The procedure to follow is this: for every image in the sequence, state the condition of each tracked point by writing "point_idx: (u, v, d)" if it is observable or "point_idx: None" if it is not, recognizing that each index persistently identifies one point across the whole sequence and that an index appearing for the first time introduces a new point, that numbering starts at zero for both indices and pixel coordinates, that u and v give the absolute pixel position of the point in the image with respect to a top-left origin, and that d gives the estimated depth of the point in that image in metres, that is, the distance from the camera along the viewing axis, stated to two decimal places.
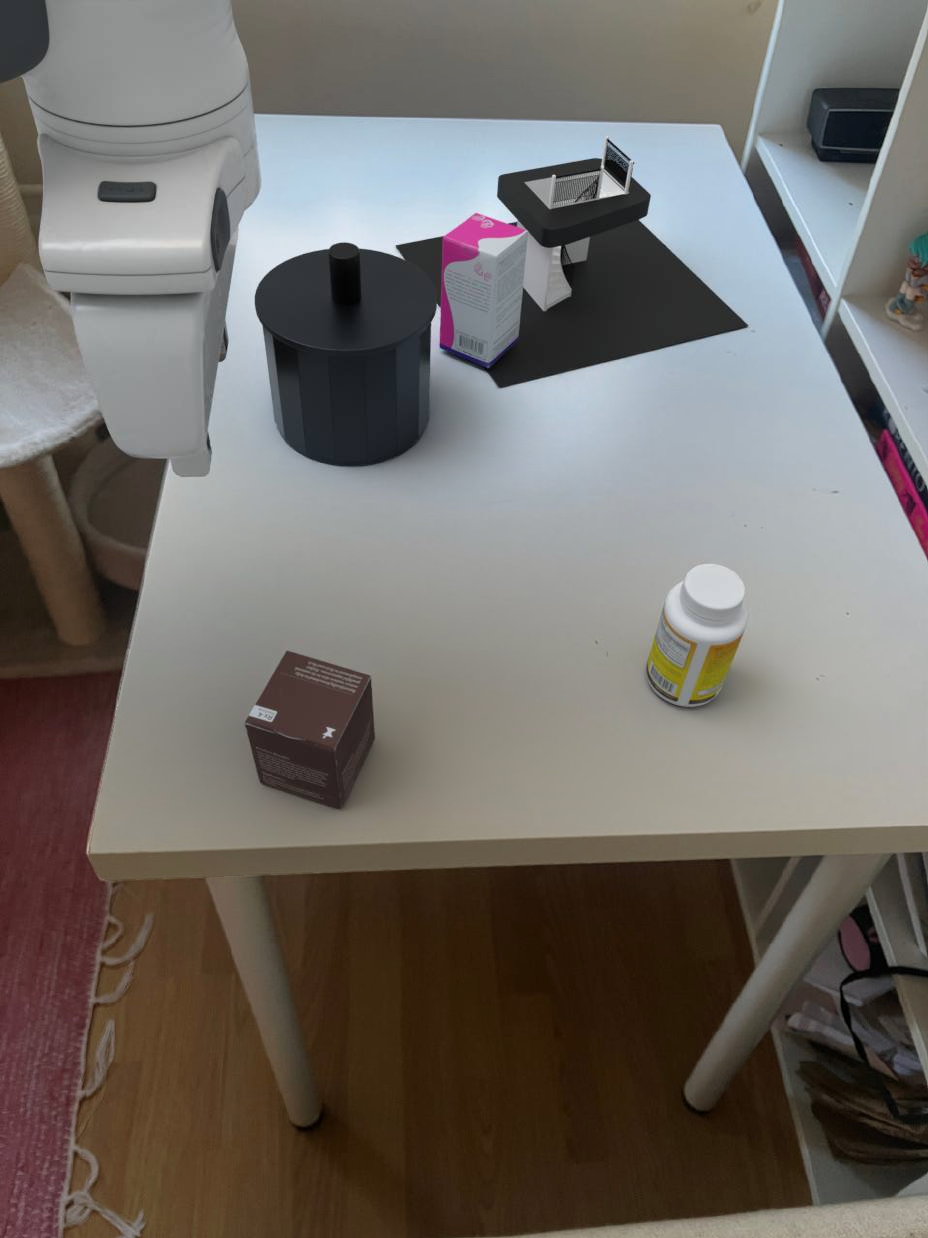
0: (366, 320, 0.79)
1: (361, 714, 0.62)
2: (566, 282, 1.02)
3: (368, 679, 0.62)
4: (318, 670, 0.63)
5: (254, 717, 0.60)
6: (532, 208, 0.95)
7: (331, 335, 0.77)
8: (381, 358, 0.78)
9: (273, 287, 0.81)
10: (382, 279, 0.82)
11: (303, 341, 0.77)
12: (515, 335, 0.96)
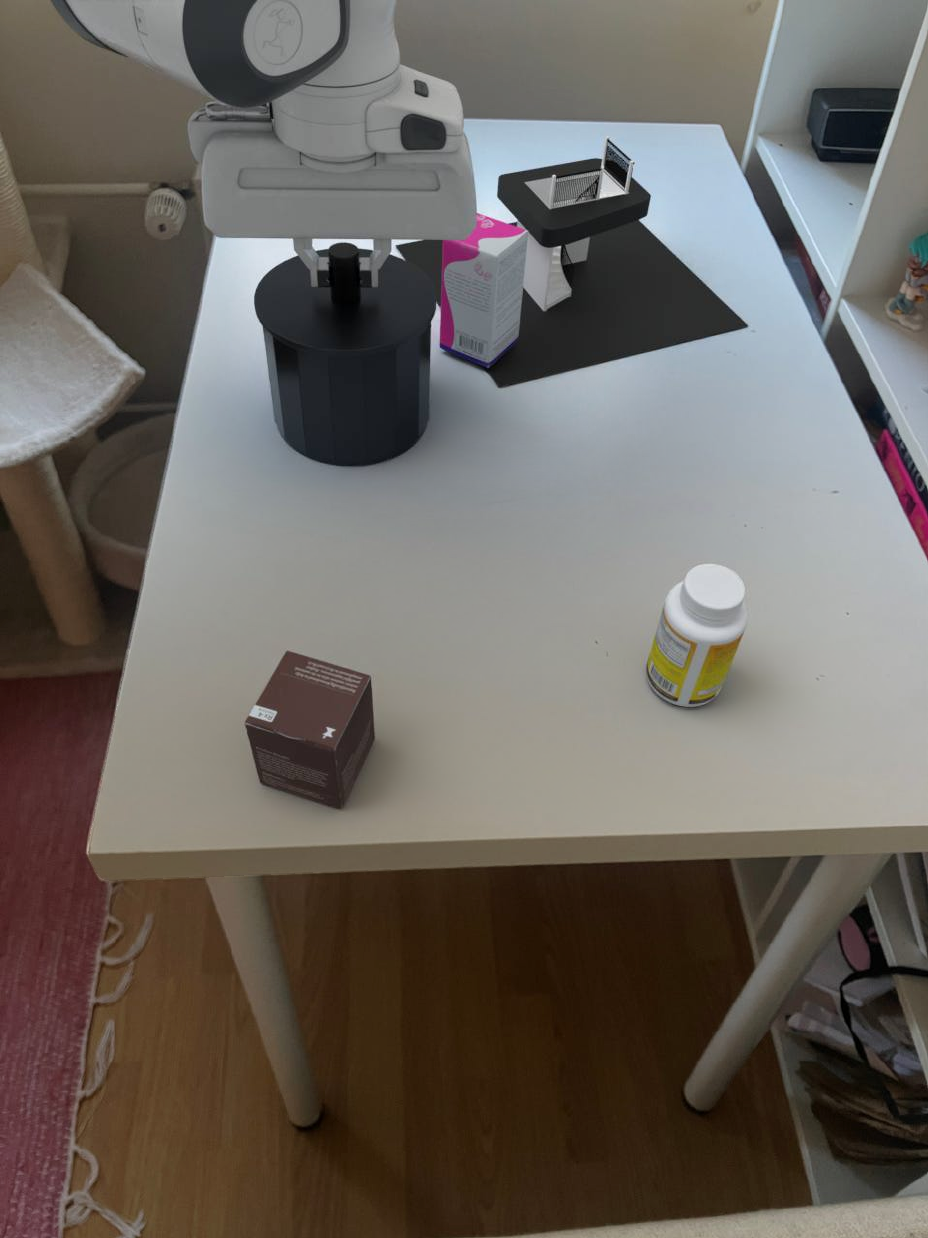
0: (366, 320, 0.79)
1: (361, 714, 0.62)
2: (566, 282, 1.02)
3: (368, 679, 0.62)
4: (318, 670, 0.63)
5: (254, 717, 0.60)
6: (532, 208, 0.95)
7: (330, 335, 0.77)
8: (381, 358, 0.78)
9: (272, 287, 0.81)
10: (382, 279, 0.82)
11: (302, 341, 0.76)
12: (515, 335, 0.96)
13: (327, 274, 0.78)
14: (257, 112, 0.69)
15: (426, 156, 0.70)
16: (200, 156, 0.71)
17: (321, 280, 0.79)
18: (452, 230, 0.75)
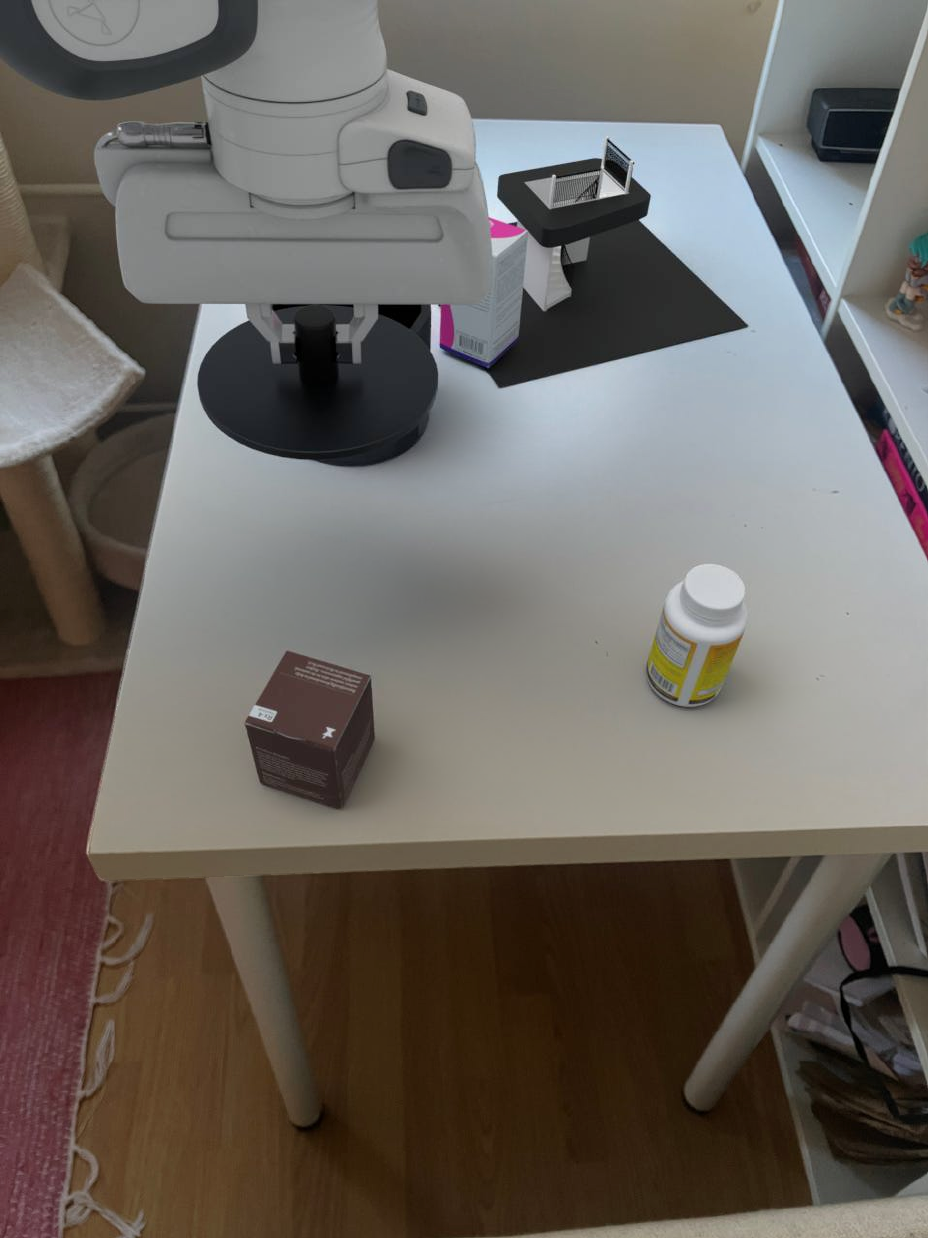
0: (345, 407, 0.59)
1: (361, 714, 0.62)
2: (566, 282, 1.02)
3: (368, 679, 0.62)
4: (318, 670, 0.63)
5: (254, 717, 0.60)
6: (532, 208, 0.95)
7: (297, 430, 0.58)
8: None
9: (223, 361, 0.62)
10: (367, 349, 0.63)
11: (259, 439, 0.57)
12: (515, 335, 0.96)
13: (293, 348, 0.59)
14: (189, 136, 0.49)
15: (423, 197, 0.50)
16: (114, 196, 0.52)
17: (285, 355, 0.59)
18: (459, 293, 0.56)
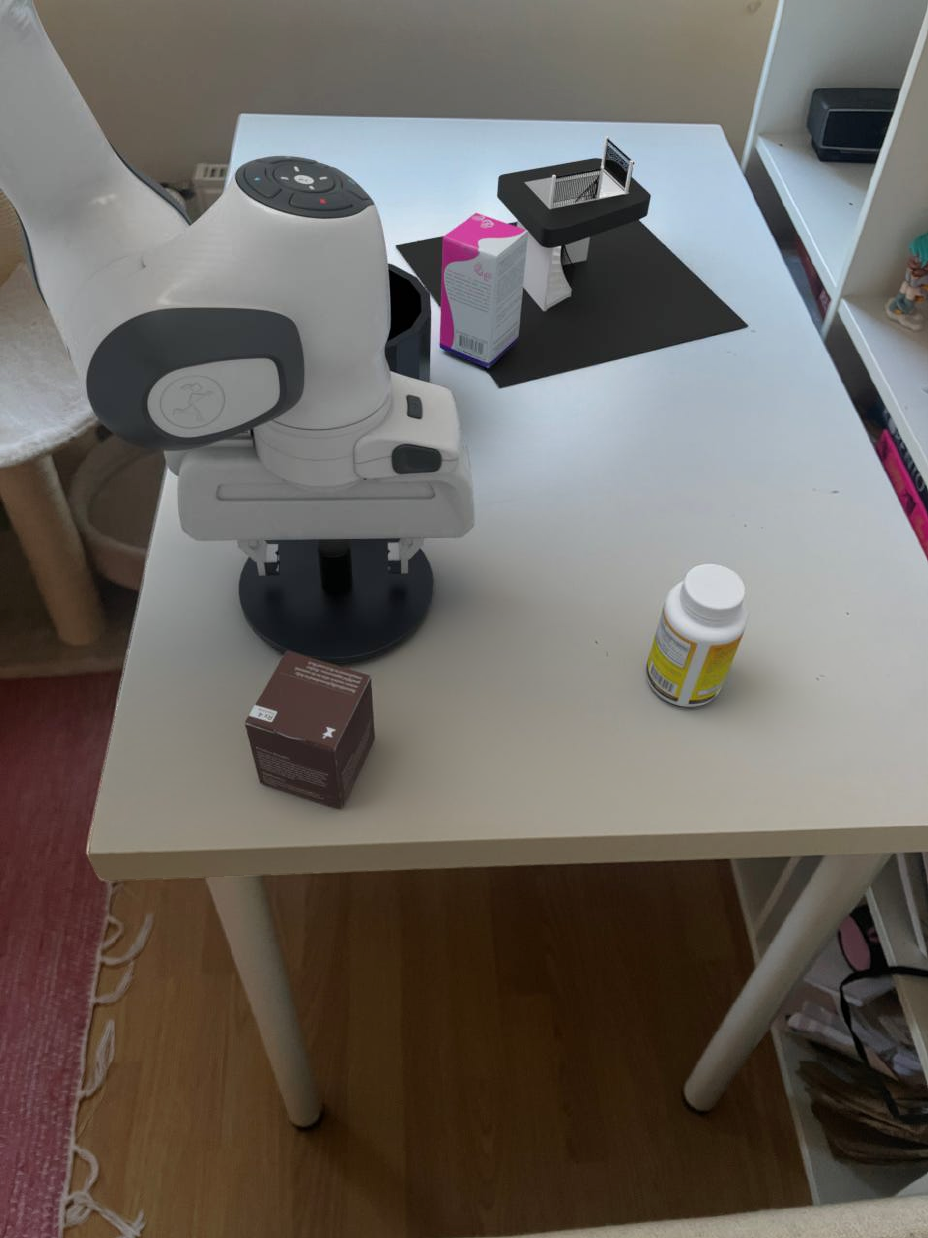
0: (358, 615, 0.74)
1: (361, 714, 0.62)
2: (566, 282, 1.02)
3: (368, 679, 0.62)
4: (318, 670, 0.63)
5: (254, 717, 0.60)
6: (532, 208, 0.95)
7: (320, 637, 0.72)
8: None
9: None
10: (375, 557, 0.77)
11: (290, 646, 0.71)
12: (515, 335, 0.96)
13: (275, 565, 0.73)
14: None
15: (419, 476, 0.64)
16: (176, 469, 0.66)
17: (269, 570, 0.73)
18: (448, 531, 0.70)
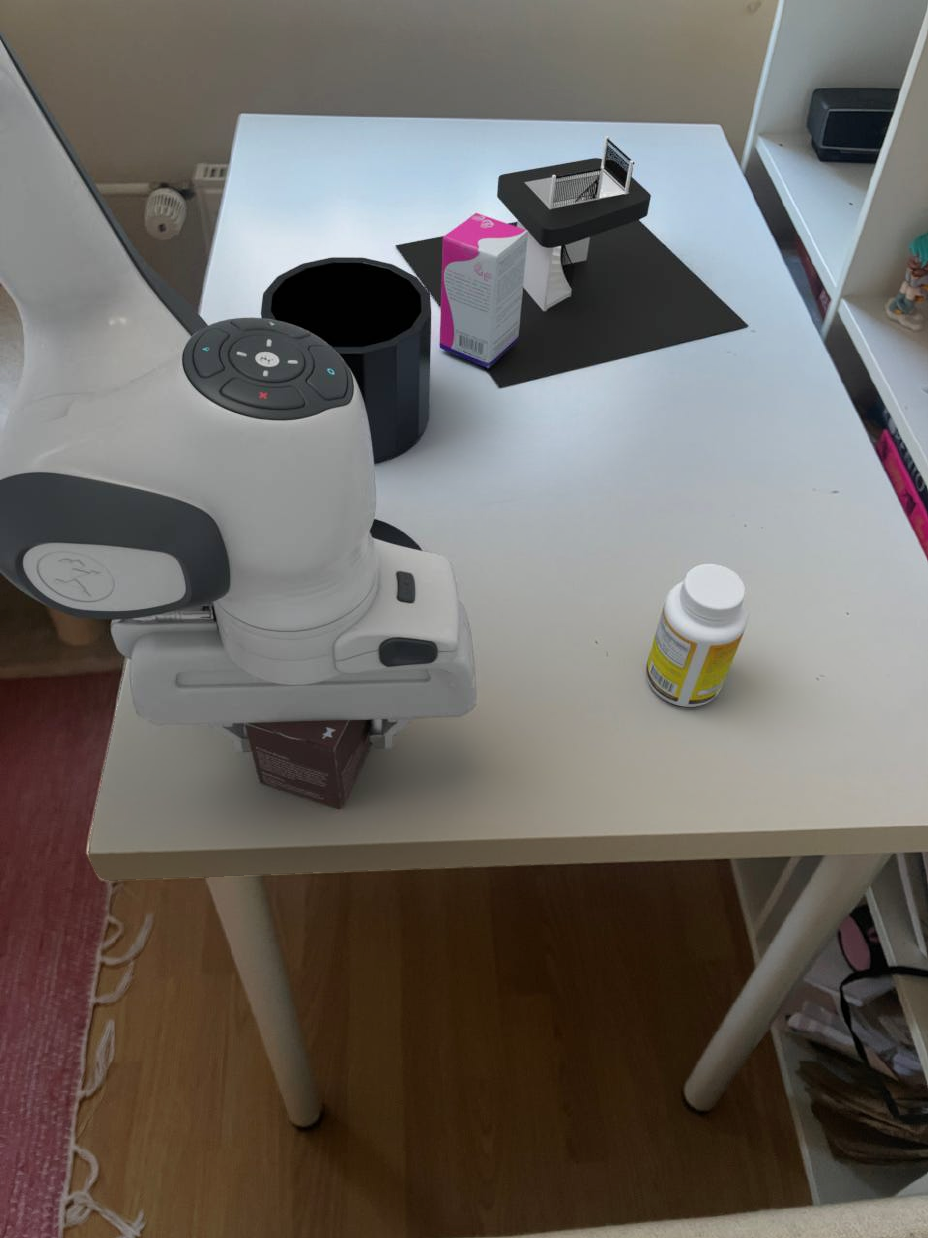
0: None
1: None
2: (566, 282, 1.02)
3: None
4: None
5: None
6: (532, 208, 0.95)
7: None
8: (381, 358, 0.78)
9: None
10: None
11: None
12: (515, 335, 0.96)
13: None
14: (197, 617, 0.54)
15: (412, 665, 0.55)
16: (128, 653, 0.56)
17: (247, 747, 0.64)
18: (446, 712, 0.60)
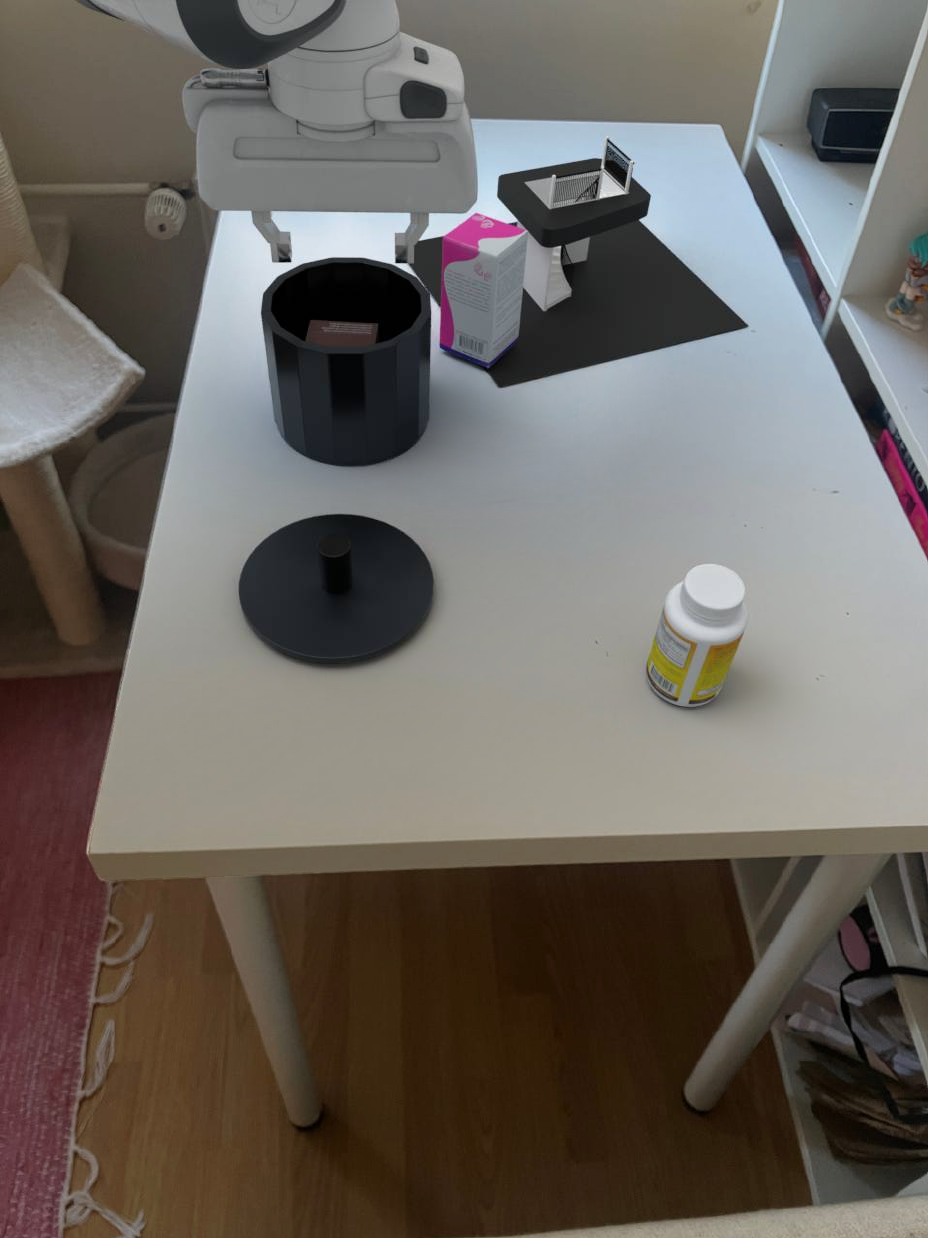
0: (358, 615, 0.74)
1: None
2: (566, 282, 1.02)
3: (377, 325, 0.86)
4: (339, 326, 0.85)
5: None
6: (532, 208, 0.95)
7: (320, 637, 0.72)
8: (381, 358, 0.78)
9: (259, 571, 0.76)
10: (375, 557, 0.77)
11: (290, 646, 0.71)
12: (515, 335, 0.96)
13: (288, 249, 0.76)
14: (253, 79, 0.67)
15: (426, 125, 0.68)
16: (195, 125, 0.69)
17: (282, 255, 0.77)
18: (452, 203, 0.73)
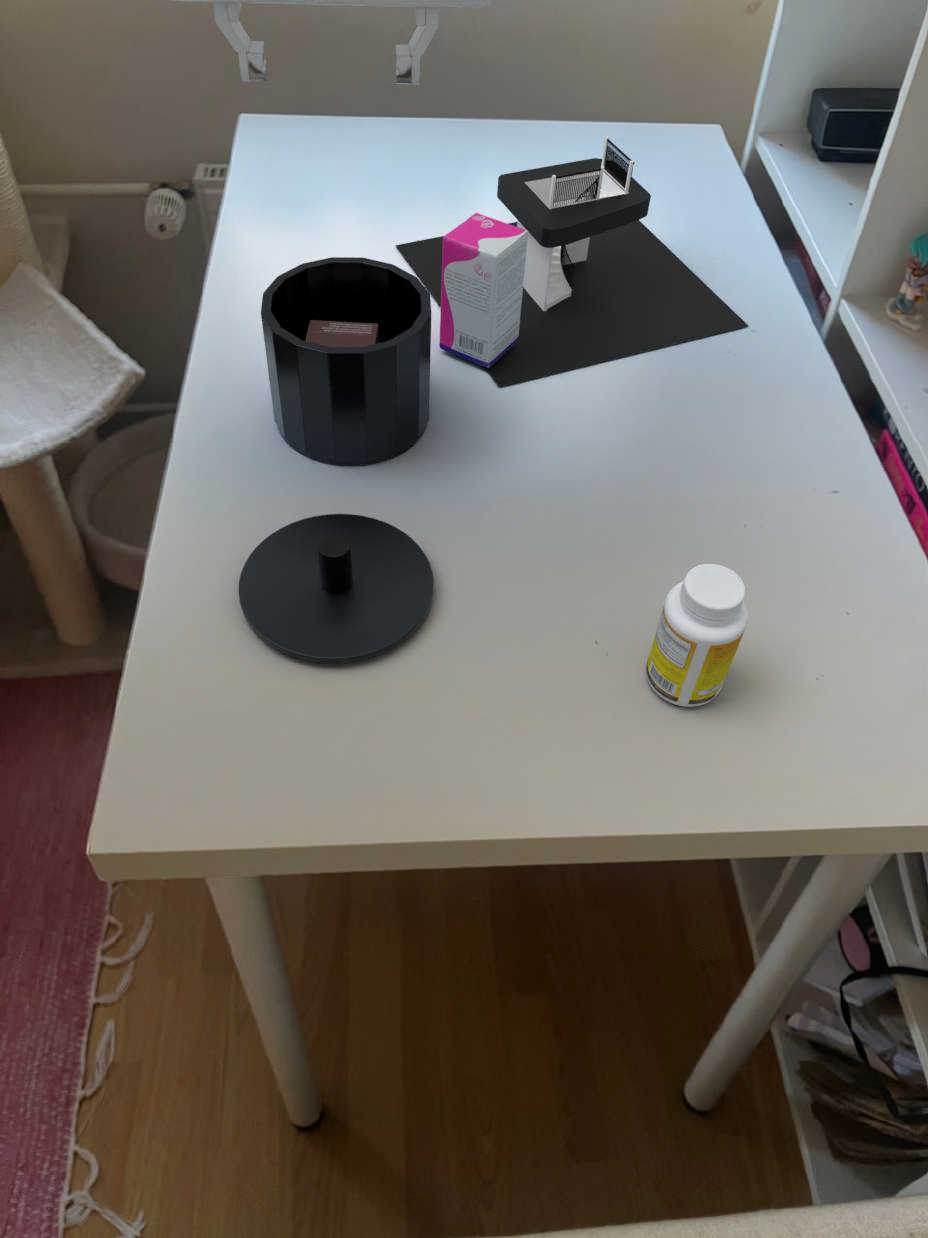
0: (358, 615, 0.74)
1: None
2: (566, 282, 1.02)
3: (377, 325, 0.86)
4: (339, 326, 0.85)
5: None
6: (532, 208, 0.95)
7: (320, 637, 0.72)
8: (381, 358, 0.78)
9: (259, 571, 0.76)
10: (375, 557, 0.77)
11: (290, 646, 0.71)
12: (515, 335, 0.96)
13: (260, 60, 0.60)
14: None
15: None
16: None
17: (253, 70, 0.61)
18: None
